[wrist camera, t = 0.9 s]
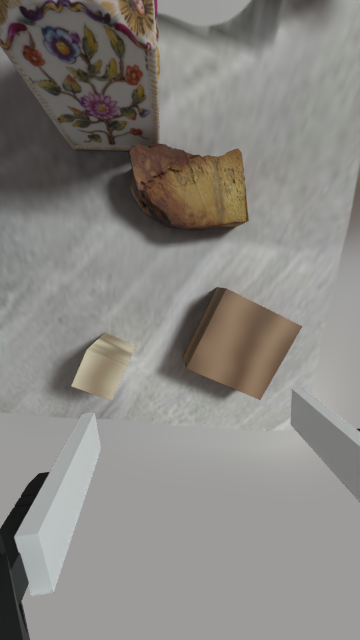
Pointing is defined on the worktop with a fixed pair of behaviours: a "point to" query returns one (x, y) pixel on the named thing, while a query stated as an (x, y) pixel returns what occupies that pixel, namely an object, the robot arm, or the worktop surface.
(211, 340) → the plinth
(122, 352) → the oak block
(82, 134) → the decorative jar
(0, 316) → the worktop surface
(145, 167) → the stone
